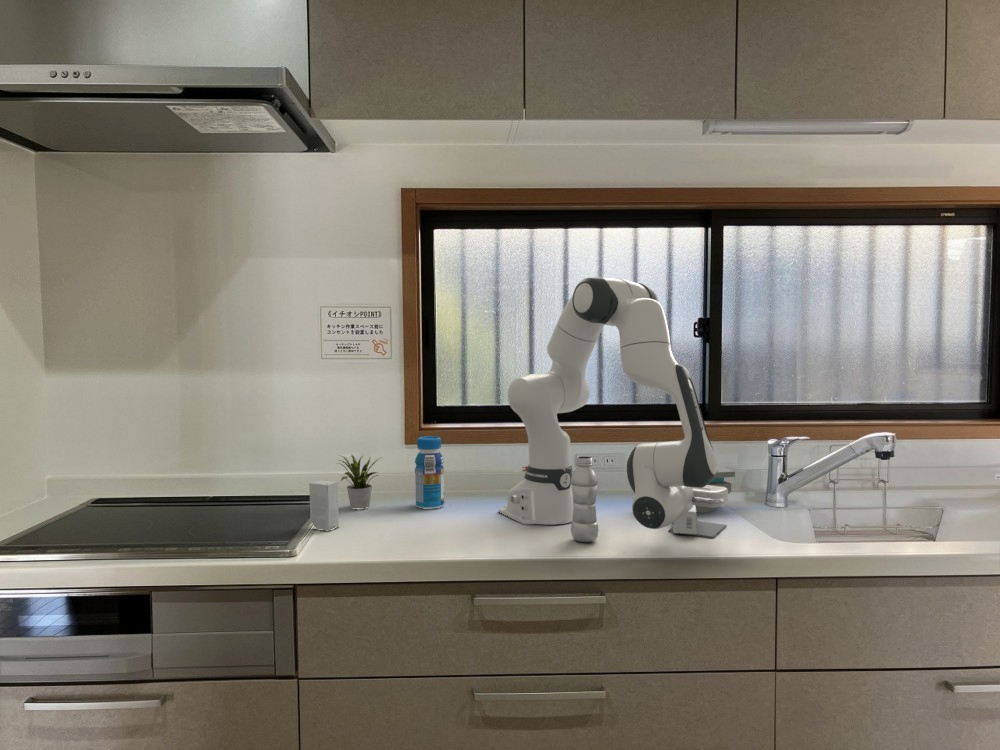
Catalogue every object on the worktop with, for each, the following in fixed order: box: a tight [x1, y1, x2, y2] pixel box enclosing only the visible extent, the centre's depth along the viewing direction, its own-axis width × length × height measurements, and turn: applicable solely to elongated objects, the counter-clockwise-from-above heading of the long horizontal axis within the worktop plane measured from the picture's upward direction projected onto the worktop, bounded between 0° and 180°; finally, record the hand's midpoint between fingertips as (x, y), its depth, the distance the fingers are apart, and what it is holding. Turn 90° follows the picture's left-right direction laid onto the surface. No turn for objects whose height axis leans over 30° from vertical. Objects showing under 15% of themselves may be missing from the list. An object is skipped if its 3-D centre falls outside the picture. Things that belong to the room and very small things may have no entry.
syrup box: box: [672, 505, 698, 535], centre depth 169 cm, size 6×6×14 cm
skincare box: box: [308, 479, 340, 530], centre depth 171 cm, size 6×4×12 cm
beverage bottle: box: [414, 435, 445, 509], centre depth 193 cm, size 8×8×20 cm
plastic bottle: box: [570, 455, 599, 543], centre depth 159 cm, size 6×7×20 cm
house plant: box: [337, 453, 383, 509], centre depth 192 cm, size 14×14×16 cm
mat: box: [667, 520, 727, 539], centre depth 168 cm, size 12×11×1 cm
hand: (691, 485), depth 163 cm, fingers closed
